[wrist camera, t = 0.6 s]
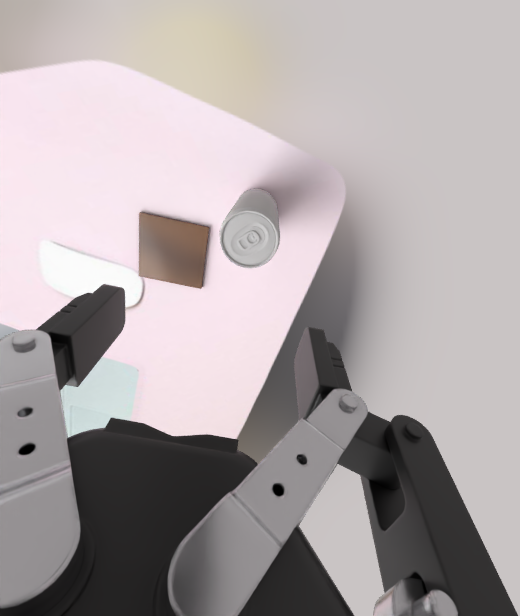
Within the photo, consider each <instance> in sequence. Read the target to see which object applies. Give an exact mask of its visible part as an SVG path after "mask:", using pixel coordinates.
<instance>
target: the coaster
mask: <svg viewBox="0 0 520 616" xmlns="http://www.w3.org/2000/svg"><path fill="white" fill-rule="evenodd" d="M208 234H209V227H206V226H201V225H197V224H192V223H188V222H183V221H179V220H174V219H170V218H165V217H160V216H156V215H151V214H147V213H142V212H140V213H139V276H141V277H146V278H151V279H156V280H161V281H166V282H171V283H175V284H180V285H185V286H190V287H195V288H200V289H201V288H202V281H203V273H204V265H205V257H206V249H207V242H208Z"/></svg>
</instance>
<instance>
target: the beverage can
mask: <svg viewBox="0 0 520 616" xmlns="http://www.w3.org/2000/svg"><path fill="white" fill-rule="evenodd" d="M279 241H280V230H279V219H278V209H277V204H276V202H275V200H274V198H273V197H272V196H271V194H269V193H268V192H266V191H264V190H262V189H250V190H247V191H246V192H244V193H243V194H242V195H241V196H240V197H239V199H238V200H237V202H236V204H235V205H234V206H233V208H232V209H231V211H230V212H229V213H228V215H227V216H226V218H225V220H224V221H223V223H222V226H221V230H220V244H221V248H222V250H223V252H224V254H225V256H226V257H227V258H228V259H229V260H230V261H231V262H233V263H234V264H236V265H238V266H241V267H244V268H256V267H260V266H262V265H264V264H266V263H267V262H268V261H270V260H271V259H272V257H273V256H274V254H275V253H276V251H277V249H278V246H279Z"/></svg>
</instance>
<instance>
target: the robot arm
mask: <svg viewBox="0 0 520 616" xmlns="http://www.w3.org/2000/svg"><path fill="white" fill-rule="evenodd" d="M124 324H125V291H124V289H123V288H121V287H116V286H111V285H106V284H103V285H102V286H101V287H99V288H98V289H97V290H96V291H95V292H94V293H86V294H84V295H81V296H79V297H76V298H75V299H73V300H72V301H71V302H70V303H69V304H67V306H65V307H64V308H62V309H61V310H60V312H57V313H56V314H55V315H54V316H52V317H51V318H50V319H49V320H47V321H46V322H45V323H44V324H42V325H41V326H40V327H39V328H37V329H36V330H22V331H18V332H14V333H11V334H8V335H6V336H5V337H3V338H2V339H0V616H354V615H353V613H352V611H351V610H350V608H349V606H348V605H347V603H346V602H345V600H344V598H343V597H342V595H341V594H340V592H339V590H338V589H337V587H336V585H335V584H334V582H333V580H332V579H331V577H330V576H329V574H328V573H327V571H326V569H325V568H324V566H323V565H322V563H321V561H320V559H319V558H318V556H317V555H316V553H315V552H314V550H313V548H312V547H311V545H310V543H309V542H308V540H307V539H306V537H305V535H304V534H303V532H302V530H301V529H300V527H299V525H300V523H301V521H302V520H303V518H304V517H305V515H306V513H307V512H308V510H309V508H310V507H311V505H312V504H313V502H314V500H315V499H316V497H317V496H318V494H319V493H320V491H321V489H322V488H323V486H324V485H325V483H326V481H327V480H328V478H329V477H330V475H331V474H332V472H333V470H334V468H335V467H336V465H337V464H339V465H341V466H343V467H345V468H347V469H350V470H351V471H354V472H355V473H358V474H359V475H360V476H361V480H362V485H363V490H364V495H365V500H366V505H367V509H368V514H369V519H370V524H371V529H372V534H373V539H374V543H375V548H376V553H377V558H378V563H379V568H380V572H381V577H382V582H383V587H384V592H385V593H384V594H383V595H382V596H381V597H379V599H378V600H377V602H376V604H375V607H374V612H373V616H518V615H517V612H516V611H515V608H514V606H513V604H512V602H511V600H510V598H509V596H508V594H507V592H506V589H505V587H504V586H503V584H502V581H501V579H500V577H499V575H498V573H497V571H496V569H495V567H494V564H493V562H492V560H491V558H490V556H489V554H488V552H487V550H486V548H485V546H484V544H483V542H482V539H481V537H480V535H479V533H478V531H477V529H476V527H475V525H474V523H473V521H472V519H471V517H470V514H469V513H468V510H467V508H466V506H465V504H464V502H463V500H462V498H461V496H460V494H459V492H458V490H457V488H456V485H455V483H454V481H453V479H452V477H451V475H450V473H449V471H448V469H447V467H446V465H445V462H444V460H443V458H442V456H441V454H440V452H439V450H438V448H437V446H436V444H435V441H434V439H433V437H432V436H431V434H430V432H429V431H428V430H427V429H426V428H425V427H424V426H423V425H422V424H421V423H420V422H418V421H417V420H415V419H413V418H410V417H408V416H404V415H397V416H395V417H394V418H393V419H392V421H391V422H389V421H387V420H385V419H382V418H380V417H378V416H376V415H374V414H372V413H370V412H368V410H367V406H366V404H365V403H364V401H363V400H362V399H361V398H360V397H359V396H358V395H357V394H355V393H353V392H352V389H351V386H350V383H349V380H348V377H347V373H346V371H345V368H344V364H343V361H342V358H341V354H340V352H339V350H338V349H337V348H336V347H335V345H334V344H333V343H330V342H327V341H326V337H325V333H324V330H321V329H316V328H311V327H306V328H305V330H304V333H303V336H302V338H301V341H300V344H299V347H298V349H297V352H296V356H295V361H294V370H295V381H296V392H297V402H298V412H299V421H298V422H297V423H296V424H295V425H294V427H293V428H292V429H291V430H290V431H289V432H288V433H287V434H286V435H285V436H284V437H283V438H282V439H281V441H280V442H279V443H278V444H277V445H276V446H275V447H274V448H273V449H272V450H271V451H270V452H269V453H268V454H267V456H266V457H265V458H264V459H263V460H262V461H261V462H260V463H259V464H257V463H256V462H255V461H254V460H253V459H252V458H250V457H249V456H248V455H246V454H244V453H243V452H241V451H239V450H237V446H238V440H237V439H231V438H225V437H219V436H214V435H192V436H171V435H168V434H166V433H164V432H162V431H159V430H157V429H155V428H153V427H150V426H148V425H146V424H144V423H138V422H133V421H127V420H121V419H115V418H111V419H110V421H109V422H108V424H107V426H106V428H99V429H93V430H89V431H85V432H82V433H79V434H76V435H73V436H71V437H69V438H68V435H67V429H66V423H65V417H64V411H63V405H62V399H61V393H60V390H61V389H62V388H63V387H64V386H65V385H70V386H75V387H78V386H79V385H80V384H81V382H82V381H83V380H84V379H85V377H86V376H87V375H88V374H89V372H90V371H91V370H92V369H93V367H94V366H95V365H96V363H97V362H98V361H99V360H100V358H101V357H102V356H103V355H104V353H105V352H106V351H107V349H108V348H109V347H110V346H111V344H112V343H113V342H114V341H115V339H116V338H117V337H118V336H119V334H120V333H121V331H122V330H123V327H124Z"/></svg>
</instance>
